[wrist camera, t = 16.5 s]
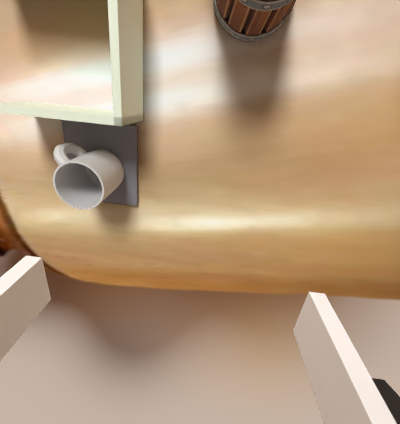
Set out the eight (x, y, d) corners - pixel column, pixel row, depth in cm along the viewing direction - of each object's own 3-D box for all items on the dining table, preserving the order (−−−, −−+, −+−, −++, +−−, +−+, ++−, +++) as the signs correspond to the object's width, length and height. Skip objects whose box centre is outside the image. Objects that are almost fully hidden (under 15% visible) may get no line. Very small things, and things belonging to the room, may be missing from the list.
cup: (105, 196, 44) (81, 218, 36) (62, 152, 41) (25, 166, 33) (133, 173, 42) (114, 191, 34) (90, 125, 39) (58, 132, 30)
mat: (64, 117, 39) (61, 118, 38) (137, 126, 39) (135, 126, 38) (74, 197, 45) (72, 198, 44) (138, 204, 45) (136, 205, 44)
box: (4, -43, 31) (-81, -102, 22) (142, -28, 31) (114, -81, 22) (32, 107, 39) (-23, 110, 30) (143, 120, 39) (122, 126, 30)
